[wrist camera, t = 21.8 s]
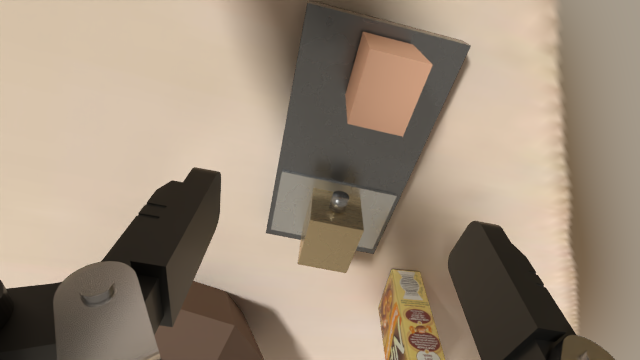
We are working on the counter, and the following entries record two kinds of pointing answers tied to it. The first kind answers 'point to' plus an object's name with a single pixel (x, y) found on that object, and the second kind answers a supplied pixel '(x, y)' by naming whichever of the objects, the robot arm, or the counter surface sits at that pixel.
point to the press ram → (385, 84)
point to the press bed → (349, 140)
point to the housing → (331, 230)
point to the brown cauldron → (207, 329)
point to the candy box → (408, 319)
